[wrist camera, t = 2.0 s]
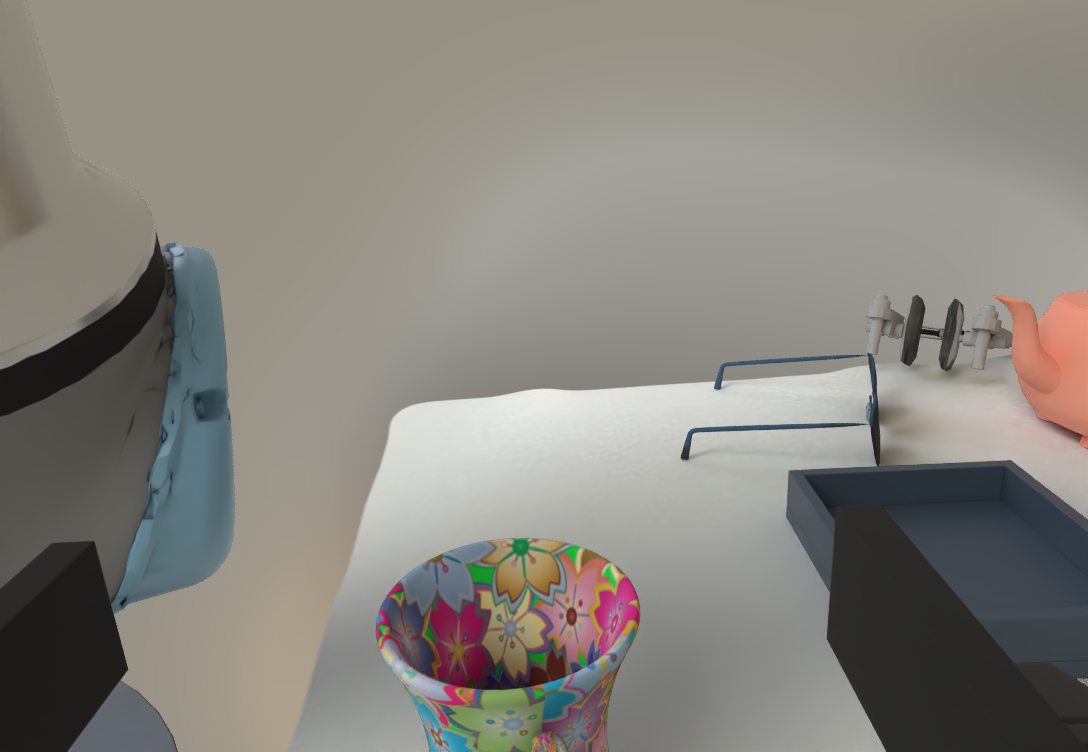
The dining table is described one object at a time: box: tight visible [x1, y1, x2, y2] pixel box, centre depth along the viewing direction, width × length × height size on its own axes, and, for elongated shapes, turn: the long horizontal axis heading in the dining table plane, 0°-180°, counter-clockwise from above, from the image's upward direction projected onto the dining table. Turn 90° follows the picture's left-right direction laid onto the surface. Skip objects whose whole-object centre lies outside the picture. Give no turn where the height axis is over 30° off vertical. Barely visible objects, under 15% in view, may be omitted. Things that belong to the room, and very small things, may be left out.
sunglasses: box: [681, 353, 880, 466], centre depth 68 cm, size 17×15×5 cm
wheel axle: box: [866, 295, 1013, 371], centre depth 83 cm, size 14×7×20 cm
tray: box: [786, 460, 1088, 678], centre depth 46 cm, size 15×17×4 cm
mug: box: [376, 538, 640, 752], centre depth 29 cm, size 12×9×11 cm
